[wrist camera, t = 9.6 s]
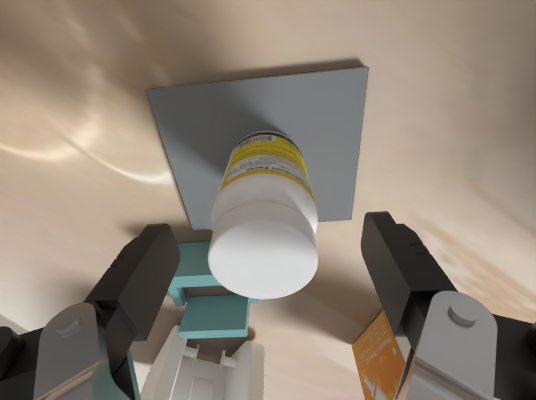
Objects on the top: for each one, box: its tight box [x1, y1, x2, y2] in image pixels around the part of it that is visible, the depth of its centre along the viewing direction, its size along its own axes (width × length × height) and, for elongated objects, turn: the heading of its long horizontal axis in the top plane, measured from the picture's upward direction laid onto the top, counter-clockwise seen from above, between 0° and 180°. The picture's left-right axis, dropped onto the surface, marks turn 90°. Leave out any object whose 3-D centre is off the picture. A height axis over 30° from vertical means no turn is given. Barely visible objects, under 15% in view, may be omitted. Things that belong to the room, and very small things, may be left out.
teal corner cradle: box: [168, 241, 258, 339], centre depth 21 cm, size 8×8×4 cm
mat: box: [145, 66, 369, 230], centre depth 16 cm, size 12×10×1 cm
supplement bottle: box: [208, 131, 318, 299], centre depth 12 cm, size 5×5×8 cm
